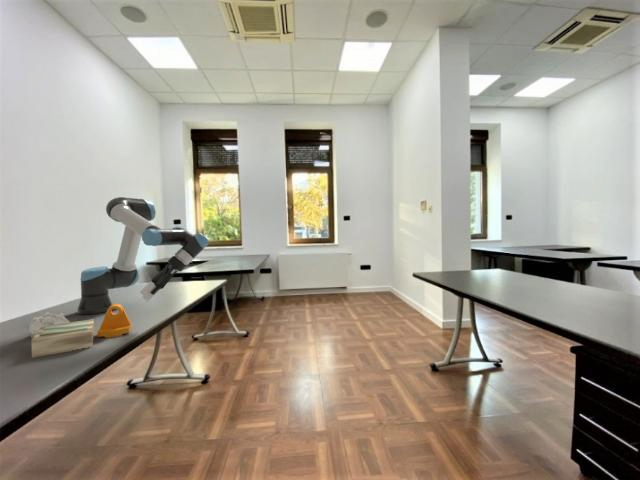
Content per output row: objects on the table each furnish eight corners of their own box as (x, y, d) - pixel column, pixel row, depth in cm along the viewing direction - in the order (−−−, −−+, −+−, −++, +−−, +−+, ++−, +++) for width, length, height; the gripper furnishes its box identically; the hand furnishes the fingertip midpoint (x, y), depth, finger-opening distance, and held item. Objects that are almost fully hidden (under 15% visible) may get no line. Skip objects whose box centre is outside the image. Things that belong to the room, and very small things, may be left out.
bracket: (96, 339, 115) (96, 309, 115) (100, 333, 121) (100, 305, 121) (129, 334, 120) (128, 306, 119) (131, 329, 126) (130, 302, 126)
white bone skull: (64, 319, 131) (66, 307, 126) (67, 336, 127) (70, 324, 122) (26, 326, 121) (27, 313, 117) (29, 344, 118) (30, 332, 113)
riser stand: (41, 341, 112) (41, 325, 112) (94, 333, 121) (94, 318, 121) (31, 358, 97) (31, 339, 97) (92, 346, 107) (91, 329, 106)
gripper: (192, 268, 126) (154, 307, 118) (181, 263, 146) (147, 296, 138) (179, 256, 123) (138, 296, 114) (169, 253, 143) (134, 287, 135)
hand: (143, 296), depth 126 cm, fingers open, 13 cm apart
